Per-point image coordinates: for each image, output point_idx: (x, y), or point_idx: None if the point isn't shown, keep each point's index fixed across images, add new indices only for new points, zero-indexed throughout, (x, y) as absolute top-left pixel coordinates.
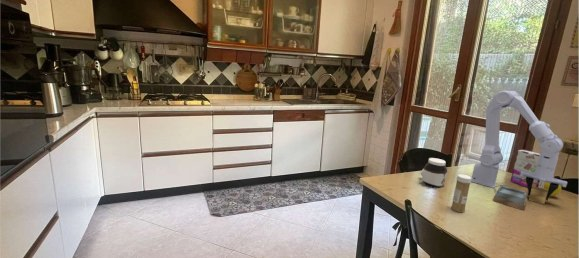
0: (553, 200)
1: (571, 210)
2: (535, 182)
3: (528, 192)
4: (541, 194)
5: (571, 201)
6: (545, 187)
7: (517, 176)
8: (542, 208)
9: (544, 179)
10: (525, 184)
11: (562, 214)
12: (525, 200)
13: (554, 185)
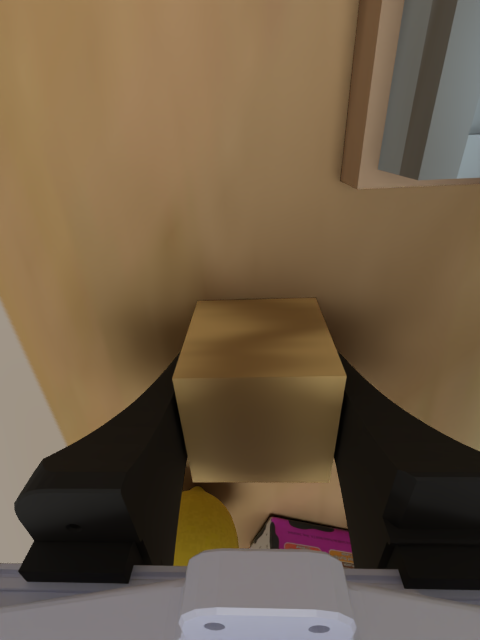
0: None
1: (31, 341)
2: None
3: (345, 360)
4: (229, 352)
5: None
6: (227, 541)
7: None
8: (187, 146)
9: (217, 609)
10: (337, 544)
11: (17, 147)
12: (393, 20)
13: (73, 522)
